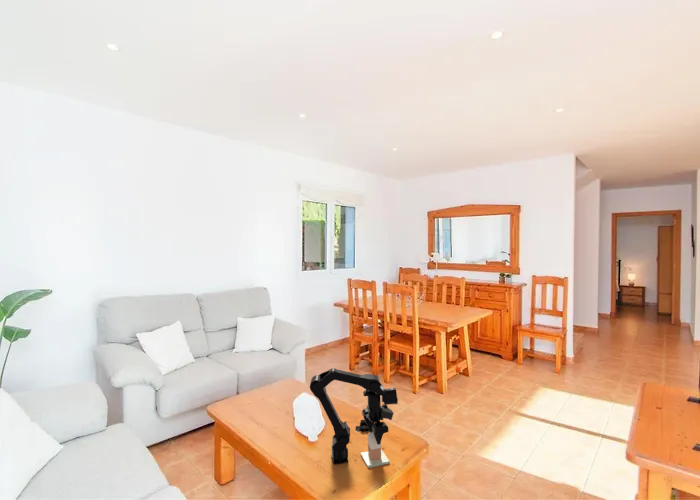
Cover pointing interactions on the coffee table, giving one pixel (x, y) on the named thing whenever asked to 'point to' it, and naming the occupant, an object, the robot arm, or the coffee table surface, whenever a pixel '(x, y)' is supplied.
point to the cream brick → (373, 441)
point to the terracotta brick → (374, 453)
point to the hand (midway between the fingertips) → (375, 438)
